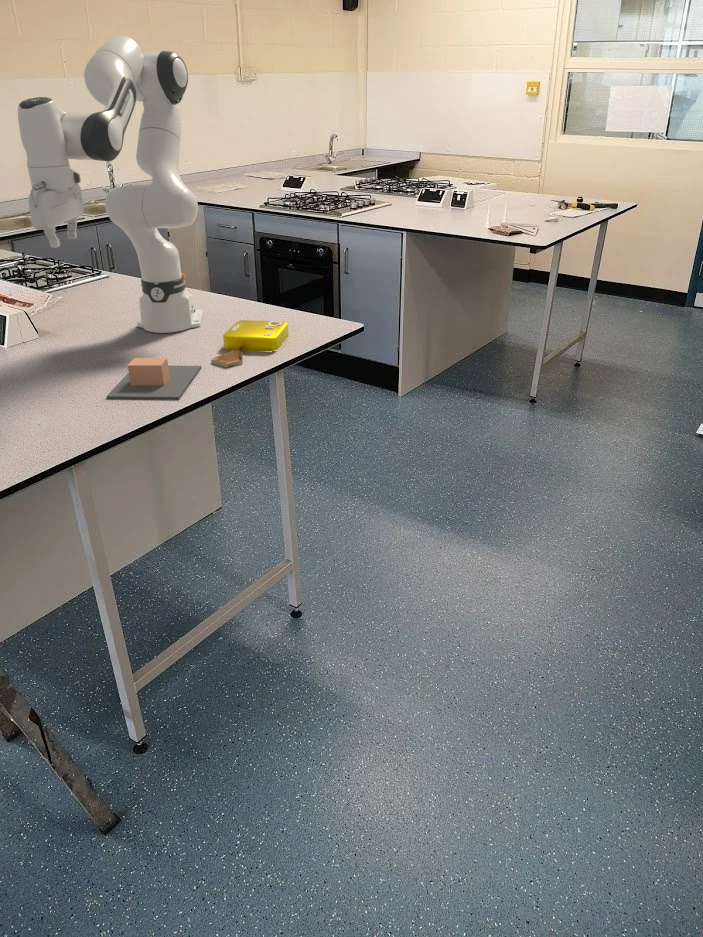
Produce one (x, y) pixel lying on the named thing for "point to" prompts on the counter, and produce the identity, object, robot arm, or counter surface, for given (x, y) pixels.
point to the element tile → (256, 335)
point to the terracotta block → (148, 371)
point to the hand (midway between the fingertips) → (64, 242)
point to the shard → (229, 358)
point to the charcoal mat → (170, 390)
